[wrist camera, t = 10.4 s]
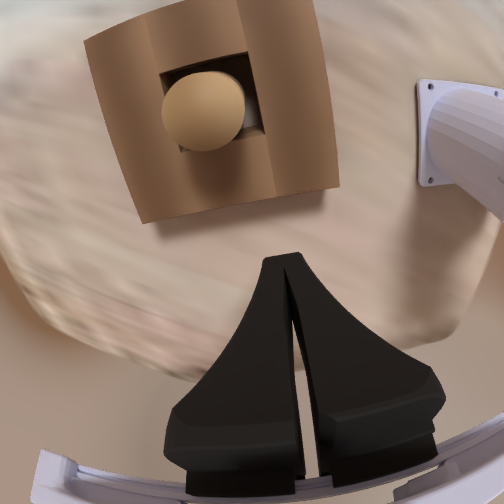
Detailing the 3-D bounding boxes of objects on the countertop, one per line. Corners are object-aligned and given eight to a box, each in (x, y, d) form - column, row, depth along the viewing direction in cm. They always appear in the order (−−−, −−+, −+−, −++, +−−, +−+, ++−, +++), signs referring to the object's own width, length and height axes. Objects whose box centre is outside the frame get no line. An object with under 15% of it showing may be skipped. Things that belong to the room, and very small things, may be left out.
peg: (239, 65, 15) (236, 62, 9) (250, 115, 17) (253, 142, 11) (185, 78, 15) (151, 85, 9) (197, 127, 17) (173, 161, 11)
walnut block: (297, -6, 12) (307, -19, 9) (327, 169, 19) (339, 186, 16) (106, 43, 13) (83, 41, 11) (155, 203, 20) (142, 224, 17)
